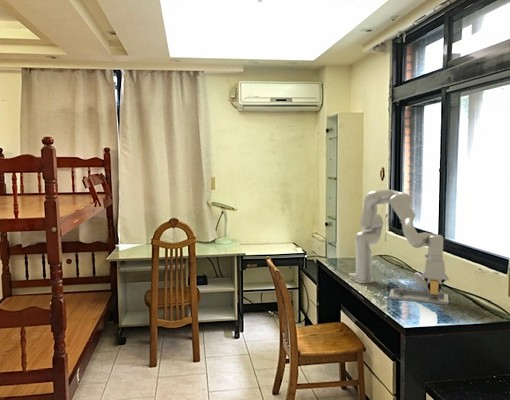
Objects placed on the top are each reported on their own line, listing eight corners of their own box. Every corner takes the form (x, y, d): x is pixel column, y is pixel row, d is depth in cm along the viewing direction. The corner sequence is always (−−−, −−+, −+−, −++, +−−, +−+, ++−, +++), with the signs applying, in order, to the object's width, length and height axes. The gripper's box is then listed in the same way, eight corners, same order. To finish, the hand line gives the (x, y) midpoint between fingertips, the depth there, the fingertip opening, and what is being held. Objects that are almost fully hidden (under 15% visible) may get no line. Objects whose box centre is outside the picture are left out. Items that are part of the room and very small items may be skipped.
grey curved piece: (436, 290, 252) (431, 275, 251) (428, 293, 252) (423, 277, 251) (424, 282, 268) (419, 267, 267) (417, 285, 268) (412, 270, 267)
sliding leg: (430, 297, 235) (430, 281, 234) (430, 293, 242) (430, 277, 241) (438, 298, 234) (438, 282, 233) (437, 294, 240) (438, 278, 240)
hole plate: (388, 298, 239) (389, 295, 239) (391, 291, 252) (391, 288, 252) (448, 304, 228) (448, 302, 228) (447, 296, 241) (447, 294, 241)
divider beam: (393, 294, 242) (393, 289, 242) (394, 290, 249) (394, 285, 249) (444, 299, 232) (444, 294, 232) (443, 295, 239) (444, 290, 239)
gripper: (418, 257, 235) (417, 290, 237) (452, 260, 229) (451, 294, 231) (418, 254, 242) (418, 286, 244) (451, 257, 236) (450, 290, 238)
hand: (434, 290), depth 238 cm, fingers closed on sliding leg, 4 cm apart
